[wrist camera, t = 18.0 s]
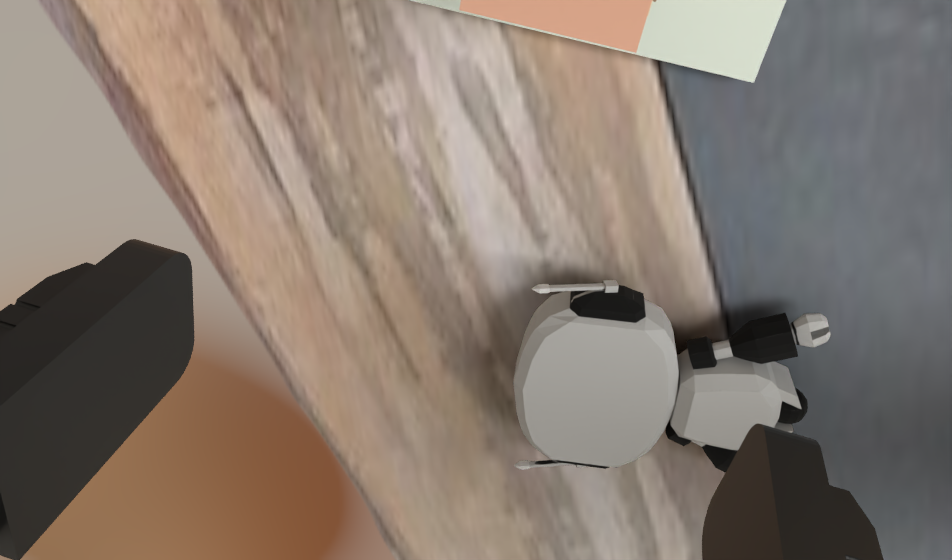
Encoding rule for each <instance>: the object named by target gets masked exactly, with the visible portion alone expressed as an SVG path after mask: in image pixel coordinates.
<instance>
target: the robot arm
mask: <svg viewBox="0 0 952 560" xmlns="http://www.w3.org/2000/svg"><path fill="white" fill-rule="evenodd" d="M193 345H194V316H193V286H192V266H191V261H190V259H189V258H188V256H187V255H186V254H184V253H181V252H177V251H174V250H170V249H167V248H164V247H160V246H157V245H154V244H150V243H147V242H143V241H139V240H136V239H133V240H129V241H126V242H125V243H123V244H122V245H121V246H119V247H118V248H117V249H116V250H114V251H113V252H112V253H110V254H109V255H108V256H106V257H105V258H104V259H102V260H101V261H100V262H99V263H97V264H96V265H93V264H90V263H84V264H81V265H79V266H76V267H73V268H70V269H68V270H65V271H62V272H60V273H57V274H55V275H52V276H49V277H47V278H45V279H44V280H43V281H41V282H40V283H39V284H37V285H36V286H34V287H33V288H32V289H30V290H29V291H28V292H26V293H25V294H23V295H22V296H21V297H19V298H18V299H17V302H16V304H15V305H12V304H10V305H8V306H7V307H6V308H4V309H3V310H2V311H0V555H1V556H4V557H7V558H10V559H13V560H20V559H21V558H22V557H23V555H24V554H25V553H26V552H27V551H28V550H29V549H30V548H31V547H32V545H33V544H34V543H35V542H36V541H37V540H38V539H39V537H40V536H41V535H42V534H43V533H44V532H45V531H46V530H47V528H48V527H49V526H50V525H51V524H52V523H53V522H54V520H55V519H56V518H57V517H58V516H59V515H60V514H61V513H62V511H63V510H64V509H65V508H66V507H67V506H68V505H69V503H70V502H71V501H72V500H73V499H74V498H75V497H76V495H77V494H78V493H79V492H80V491H81V490H82V489H83V488H84V487H85V485H86V484H87V483H88V482H89V481H90V480H91V479H92V477H93V476H94V475H95V474H96V473H97V472H98V471H99V470H100V468H101V467H102V466H103V465H104V464H105V462H106V461H108V459H109V458H110V457H111V456H112V455H113V454H114V453H115V451H116V450H117V449H118V448H119V447H120V446H121V445H122V444H123V442H124V441H125V440H126V439H127V438H128V437H129V436H130V434H131V433H132V432H133V431H134V430H135V429H136V428H137V426H138V425H139V424H140V423H141V422H142V421H143V420H144V419H145V418H146V416H147V415H148V414H149V413H150V412H151V411H152V410H153V408H154V407H155V406H156V405H157V404H158V403H159V402H160V400H161V399H162V398H163V397H164V396H165V395H166V394H167V393H168V391H169V390H170V389H171V388H172V387H173V386H174V385H175V383H176V382H177V381H178V380H179V379H180V377H181V376H182V374H183V373H184V371H185V369H186V367H187V365H188V363H189V360H190V358H191V354H192V351H193ZM702 558H703V560H883V556H882V553H881V549H880V546H879V542H878V538H877V535H876V531H875V528H874V527H873V525H872V524H871V522H870V521H869V519H868V518H867V517H866V515H865V514H864V512H863V511H862V509H861V508H860V506H859V505H858V503H857V502H856V500H855V499H854V497H853V496H852V495H851V493H850V492H849V491H847V490H843V489H840V488H837V487H833V486H830V485H829V483H828V478H827V474H826V469H825V465H824V461H823V456H822V452H821V448H820V446H819V444H818V442H817V441H816V440H814V439H811V438H807V437H804V436H800V435H797V434H794V433H790V432H787V431H783V430H780V429H776V428H773V427H770V426H766V425H763V424H759V423H758V424H755V425H754V426H752V427H751V429H750V430H749V431H748V433H747V435H746V437H745V438H744V440H743V442H742V444H741V446H740V448H739V449H738V451H737V453H736V455H735V457H734V459H733V460H732V462H731V464H730V466H729V468H728V470H727V471H726V473H725V475H724V477H723V479H722V481H721V482H720V484H719V486H718V488H717V490H716V492H715V493H714V495H713V497H712V499H711V502H710V504H709V507H708V510H707V514H706V517H705V522H704V527H703V535H702Z"/></svg>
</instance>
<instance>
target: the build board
mask: <svg viewBox="0 0 952 560" xmlns="http://www.w3.org/2000/svg"><path fill="white" fill-rule="evenodd" d="M410 1H414V2H418V3H423V4H427V5H431V6H435V7H439V8H444V9H448V10H452V11H456V12H460V13H464V14H469V15H473V16H477V17H481V18H485V19H489V20H494V21H498V22H502V23H506V24H510V25H515V26H519V27H523V28H527V29H531V30H535V31H540V32H544V33H548V34H552V35H556V36H560V37H565V38H569V39H573V40H577V41H581V42H586V43H590V44H594V45H598V46H602V47H606V48H611V49H615V50H619V51H623V52H627V53H631V54H636V55H640V56H644V57H648V58H652V59H657V60H661V61H665V62H669V63H673V64H677V65H682V66H686V67H690V68H694V69H698V70H702V71H707V72H711V73H715V74H719V75H723V76H728V77H732V78H736V79H740V80H744V81H748V82H753V83H754V81H755V78H756V76H757V73H758V71H759V68H760V65H761V63H762V60H763V58H764V55H765V53H766V50H767V48H768V45H769V43H770V40H771V38H772V35H773V33H774V30H775V27H776V25H777V22H778V20H779V17H780V15H781V12H782V10H783V7H784V5H785V2H786V0H656V2H654V1H652V5H651V8H650V12H649V15H648V16H647V19H646V22H645V25H644V29H643V32H642V35H641V39H640V42H639V45H638V49H637V52H636V53H635V52H631V51H626V50H622V49H618V48H614V47H610V46H606V45H602V44H597V43H593V42H589V41H585V40H581V39H577V38H573V37H568V36H564V35H560V34H556V33H552V32H548V31H544V30H540V29H535V28H531V27H527V26H523V25H519V24H515V23H511V22H506V21H502V20H498V19H494V18H490V17H486V16H482V15H477V14H473V13H469V12H465V11H461V10H459V9H460V2H461V0H410Z"/></svg>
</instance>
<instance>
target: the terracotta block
mask: <svg viewBox="0 0 952 560" xmlns="http://www.w3.org/2000/svg"><path fill="white" fill-rule="evenodd" d="M651 2H652V0H461V2H460V9H459V10H461V11H465V12H469V13H473V14H477V15H482V16H486V17H490V18H494V19H498V20H502V21H506V22H511V23H515V24H519V25H523V26H527V27H531V28H535V29H540V30H544V31H548V32H552V33H556V34H560V35H564V36H568V37H573V38H577V39H581V40H585V41H589V42H593V43H597V44H602V45H606V46H610V47H614V48H618V49H622V50H626V51H631V52H635V53H636V52H637V49H638V45H639V42H640V39H641V35H642V32H643V29H644V25H645V22H646V19H647V15H648V12H649V8H650V5H651Z"/></svg>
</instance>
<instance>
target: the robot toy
mask: <svg viewBox="0 0 952 560" xmlns="http://www.w3.org/2000/svg"><path fill="white" fill-rule="evenodd" d="M532 290H534V291H536V292H538V293H550V292H556V291H564V292H561V293H558V294H555V295H551V296H550V297H549V298H548V299H547V300H546V301H545V302H544V303H542V304H541V305H540V306H539V307H538V308H537V310H536V311H535V313H534V314H533V316H532V318H531V320H530V322H529V324H528V326H527V328H526V330H525V334H524V337H523V340H522V344H521V347H520V350H519V354H518V357H517V360H516V367H515V374H514V381H513V385H514V394H515V403H516V412H517V416H518V420H519V423H520V427H521V429H522V432H523V434H524V436H525V437H526V438H527V439H528V441H529V442H530V443H531V445H532V446H533V447H534V448H535V449H537V450H538V451H540V452H541V453H543V454H544V455H546V456H547V457H549V458H550V459H554V460H547V461H531V462H529V461H519V462H518V463H516V464H515V465H514V466H515V467H517V468H519V469H520V470H522V469H529V468H534V467H549V466H564V465H576V467H587V466H590V467H597V468H605V469H606V468H609V467H615V468H617V467H620V466H622V465H625V464H628V463H630V462H633V461H635V460H637V459H638V458H640V457H641V456H643V455H644V454H645V453H647V452H648V451H650V449H651V448H652V447H653V446H654V445H655V444H656V442H657V441H658V439H659V438H660V436H661V435H662V433H663V432H664V430H665V428H666V434H667V437H668V438H669V439H671V440H673V441H675V442H677V443H679V444H681V445H683V446H685V445H687V444H689V443H690V442H693V443H695V444H697V445H699V446H701V447H702V448H703V450H704V451H705V453H706V454H707V456H708V457H709V459H710V460H711V462H712V463H713V464H714V466H715V467H716V468H718V469H720V470H722V471H724V472H726V471H727V470H728V468H729V466H730V464H731V462H732V460H733V459H734V457H735V455H736V453H737V451H738V449H739V448H740V446H741V444H742V442H743V440H744V438H745V437H746V435H747V433H748V431H749V430H750V429H751V427H752V426H754V425H755V424H758V423H759V424H763V425H766V426H770V427H773V428H776V429H780V430H783V431H787V432H790V433H792V432H793V431H794V430H793V427H792V424H793V423H796V422H799V421H800V420H802V418H803V417H804V416H805V414H806V412H807V408H808V407H807V399H806V398H805V396H804V395H803V394H802V393H801V392H800V391H799V390H798V389H796V388H795V387H794V384H793V381H792V378H791V375H790V372H789V369H788V367H786V366H783V365H781V364H779V363H777V362H774V361H778V360H783V359H788V358H792V357H797V356H798V354H797V349H796V345H795V344H797V345H802V346H808V347H816V346H818V345H821V344H823V343H825V342H827V341H828V339H829V338H830V336H831V335H830V331H829V329H828V327H829V326H828V321H827V319H826V317H825V316H823V315H822V314H820V313H805V314H803V315H802V316H800V317H799V318H797V319H796V320H795V321H793V322H792V323H791V324H790V325H789V322H788V319H787V316H786V314H785V313H783V314H778V315H774V316H770V317H765V318H761V319H757V320H752V321H749V322H748V323H747V324H745V325H744V326H743V327H742V328H741V329H740V330H738V331H737V332H736V333H735V334H734V335H733V336H732V337H731V338H730V339H729V340H725V341H721V342H716V343H712V342H711V340H710V339H709V338H708V337H702V338H698V339H693V340H689V341H687V349H686V350H685V351H683V352H682V353H681V354H679V355H678V356H677V353H676V346H675V340H674V333H673V329H672V325H671V322H670V321H669V319H668V317H667V316H666V314H665V313H664V311H663V309H662V308H661V307H659V306H657V305H655V304H654V303H652V302H650V301H648V300H646V299H644V296H643V293H641V292H638V291H635V290H632V289H630V288H628V287H625V286H620V285H618V284H617V282H616V280H603V283H592V284H567V285H549V284H538V285H536V286H535V287H533V288H532Z"/></svg>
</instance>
